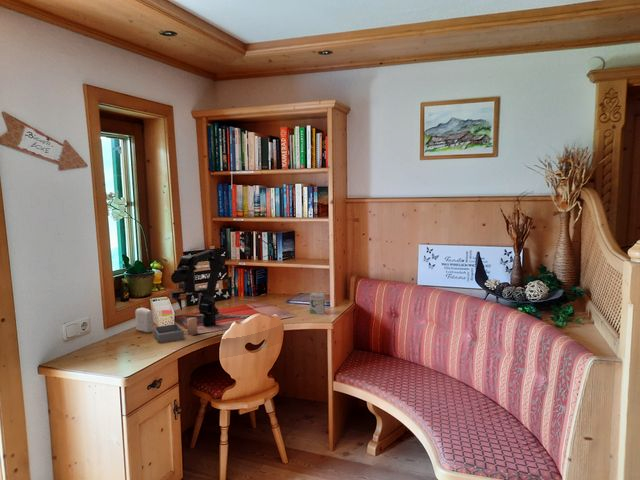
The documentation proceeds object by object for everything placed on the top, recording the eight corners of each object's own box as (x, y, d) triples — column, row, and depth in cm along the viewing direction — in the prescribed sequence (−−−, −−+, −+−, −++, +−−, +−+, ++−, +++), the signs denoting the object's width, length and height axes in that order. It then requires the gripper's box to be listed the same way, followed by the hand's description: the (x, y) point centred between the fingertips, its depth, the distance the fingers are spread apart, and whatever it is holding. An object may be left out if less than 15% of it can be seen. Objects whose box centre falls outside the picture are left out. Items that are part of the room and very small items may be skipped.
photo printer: (154, 330, 249) (153, 308, 248) (148, 333, 245) (146, 310, 244) (141, 327, 254) (140, 305, 253) (134, 330, 250) (133, 307, 249)
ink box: (325, 312, 282) (325, 293, 280) (323, 314, 277) (323, 295, 275) (312, 311, 284) (311, 292, 283) (309, 313, 279) (309, 294, 278)
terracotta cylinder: (196, 331, 248) (195, 316, 247) (198, 333, 244) (197, 319, 243) (186, 332, 245) (185, 318, 244) (188, 335, 241) (188, 320, 240)
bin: (177, 330, 249) (177, 323, 248) (183, 338, 236) (183, 331, 236) (153, 334, 243) (153, 327, 242) (159, 342, 230) (158, 335, 230)
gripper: (203, 275, 253) (204, 303, 255) (167, 278, 244) (169, 307, 246) (208, 278, 243) (209, 308, 245) (171, 282, 234) (173, 312, 236)
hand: (190, 308), depth 243 cm, fingers open, 9 cm apart
